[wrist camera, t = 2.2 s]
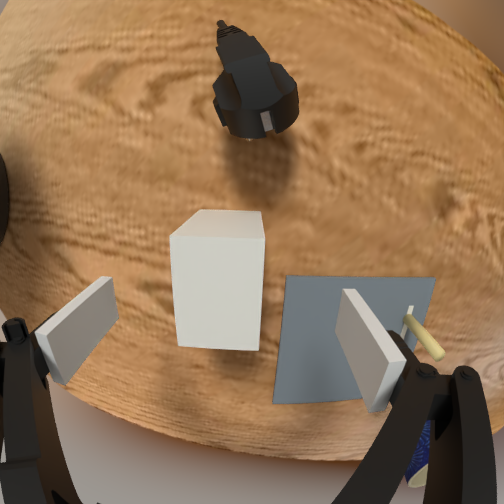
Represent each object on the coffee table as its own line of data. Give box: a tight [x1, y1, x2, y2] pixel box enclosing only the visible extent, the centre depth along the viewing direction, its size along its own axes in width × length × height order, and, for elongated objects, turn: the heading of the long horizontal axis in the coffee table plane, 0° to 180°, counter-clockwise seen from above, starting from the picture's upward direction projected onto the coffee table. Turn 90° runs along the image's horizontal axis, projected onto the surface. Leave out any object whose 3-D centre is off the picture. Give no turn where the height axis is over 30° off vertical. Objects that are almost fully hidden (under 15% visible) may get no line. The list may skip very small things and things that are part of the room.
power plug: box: [212, 20, 299, 142], centre depth 18 cm, size 6×8×12 cm
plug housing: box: [170, 209, 265, 351], centre depth 20 cm, size 5×7×9 cm
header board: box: [272, 275, 445, 404], centre depth 24 cm, size 16×16×7 cm
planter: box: [404, 420, 430, 487], centre depth 27 cm, size 12×12×11 cm
